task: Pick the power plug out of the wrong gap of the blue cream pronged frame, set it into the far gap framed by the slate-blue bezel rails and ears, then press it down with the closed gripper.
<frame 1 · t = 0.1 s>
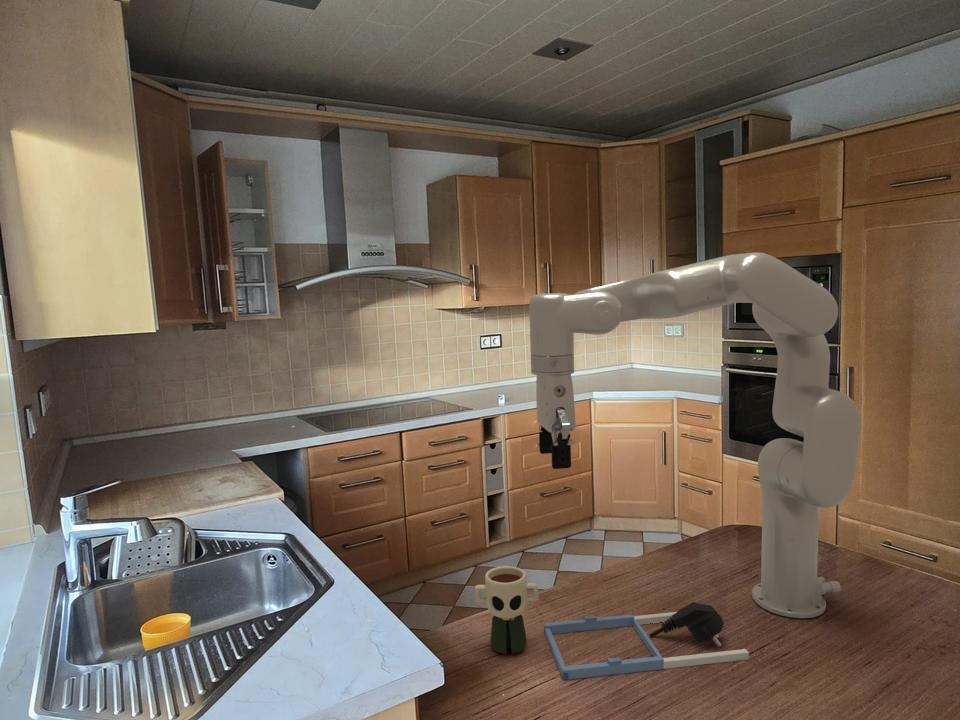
hand: (554, 460, 109), 31 cm above the table, tool pointing down, fingers open, 9 cm apart
character mug: (508, 647, 107), on the table
blue cream pronged frame: (641, 644, 106), on the table
power plug: (685, 641, 107), on the table
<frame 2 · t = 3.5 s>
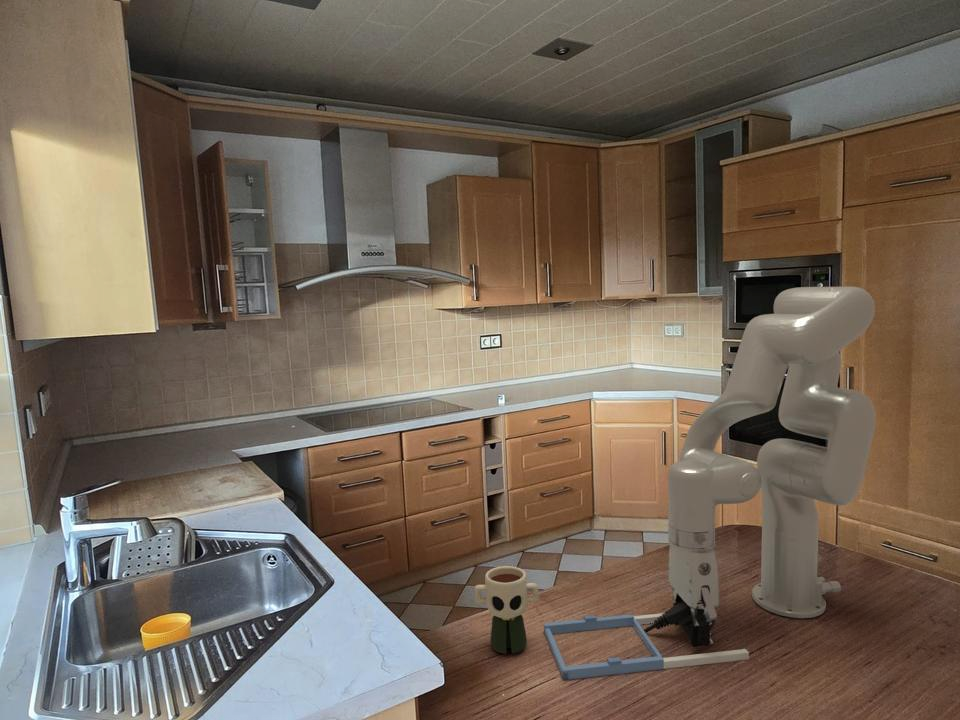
hand: (691, 633, 107), 1 cm above the table, tool pointing down, fingers closed on power plug, 5 cm apart
power plug: (678, 638, 108), on the table, touching blue cream pronged frame, gripper
everything else where it was.
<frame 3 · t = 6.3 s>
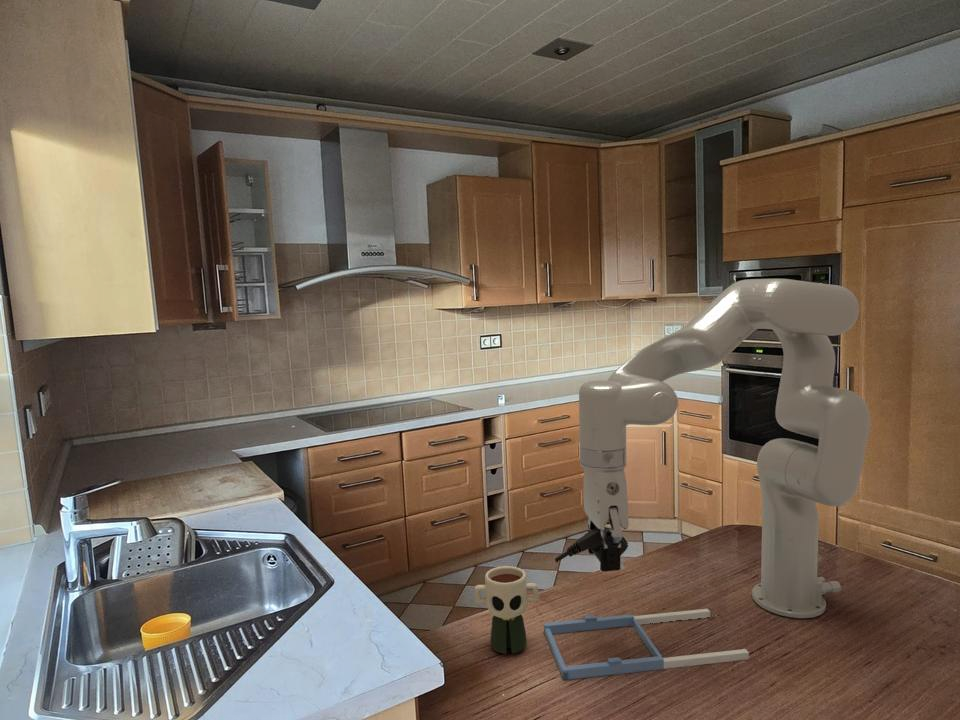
hand: (603, 560, 103), 16 cm above the table, tool pointing down, fingers closed on power plug, 5 cm apart
power plug: (591, 565, 104), point 15 cm above the table, touching gripper
everything else where it was.
when the fingers open (2 cm above the table, at t = 9.4 s): power plug stays where it is, on the table.
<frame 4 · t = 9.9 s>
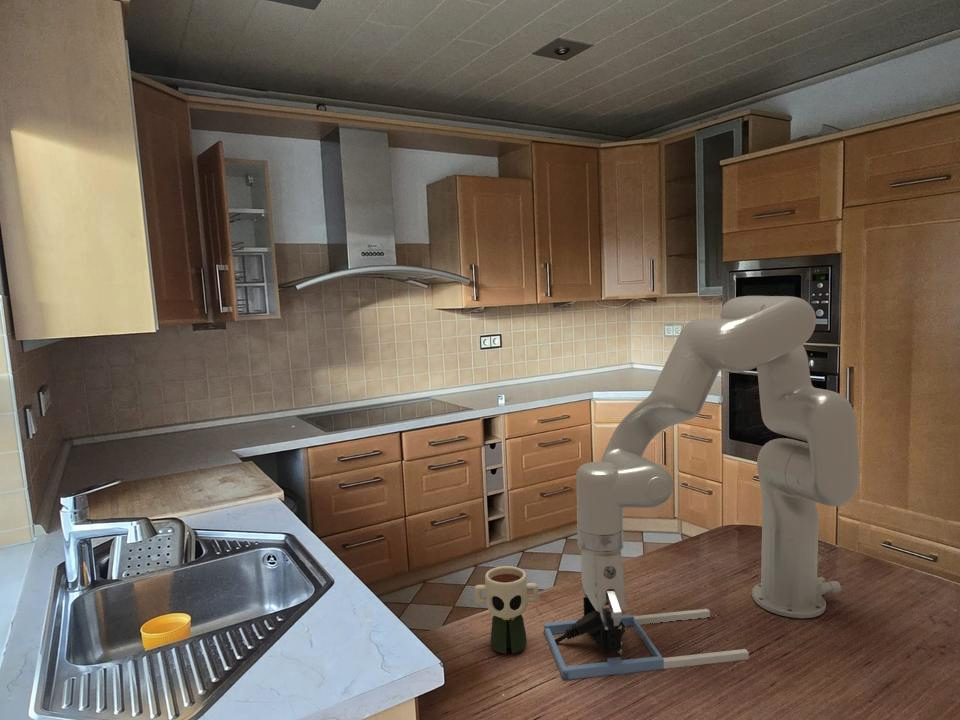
hand: (601, 633, 105), 3 cm above the table, tool pointing down, fingers open, 9 cm apart
power plug: (589, 648, 106), on the table
everything else where it was.
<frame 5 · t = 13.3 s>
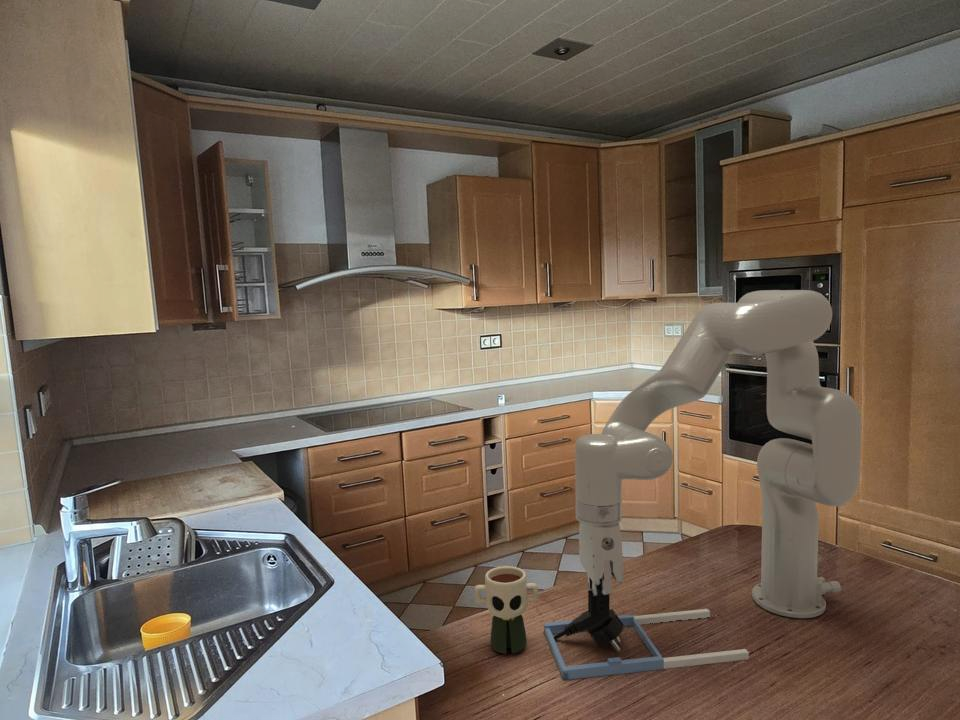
hand: (598, 614, 104), 6 cm above the table, tool pointing down, fingers closed
power plug: (587, 645, 107), on the table, touching blue cream pronged frame, gripper
everything else where it was.
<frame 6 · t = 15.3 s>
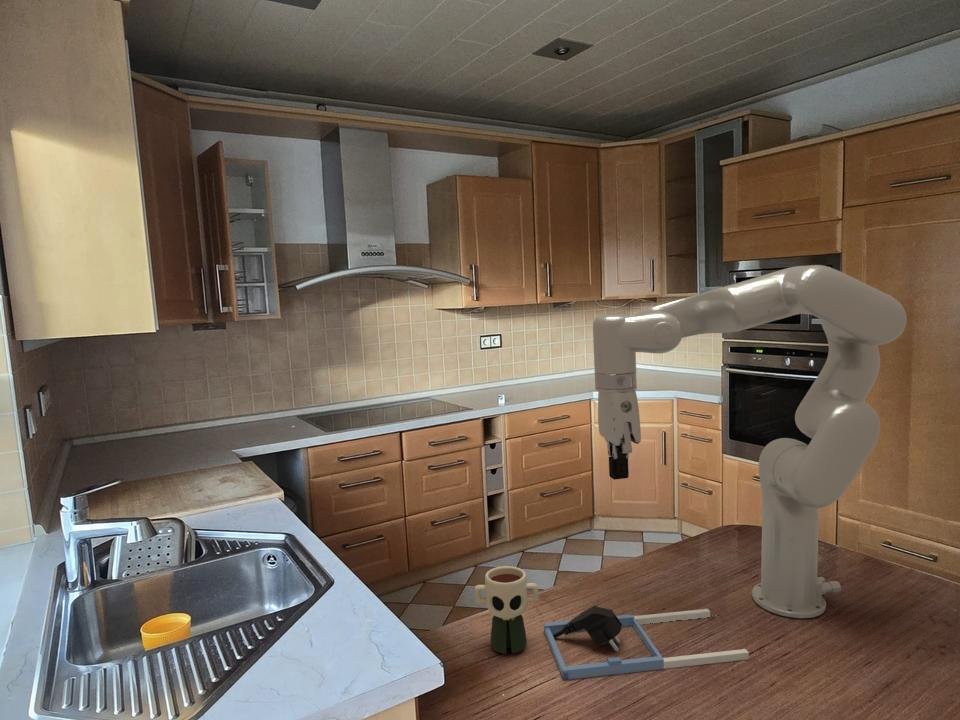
hand: (619, 477, 116), 26 cm above the table, tool pointing down, fingers closed
power plug: (586, 644, 107), on the table, touching blue cream pronged frame
everything else where it was.
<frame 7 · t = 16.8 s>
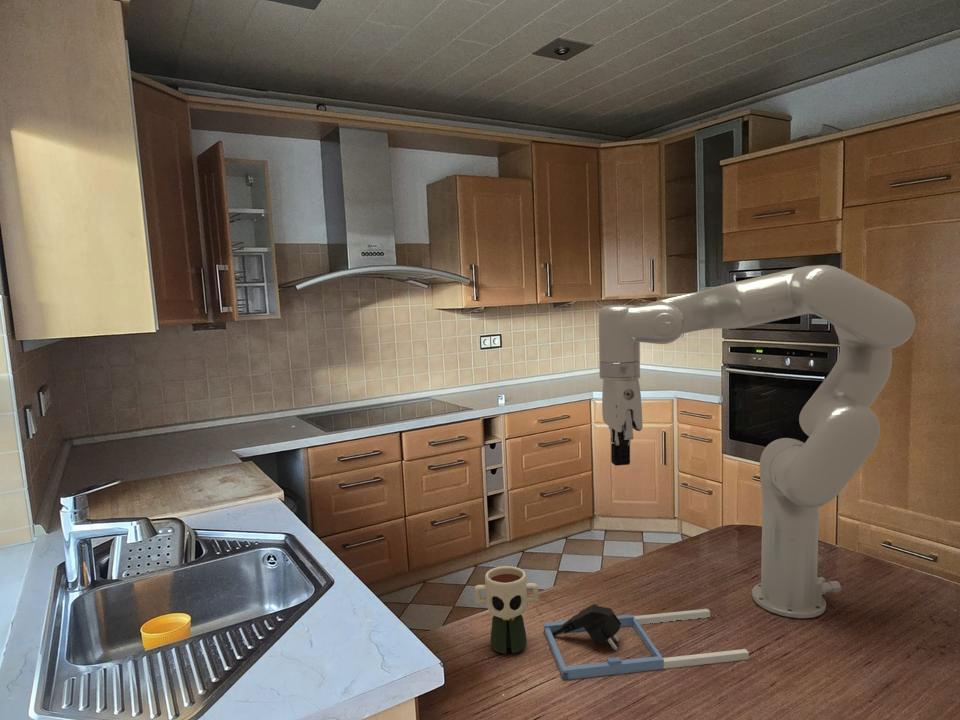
hand: (620, 463, 119), 27 cm above the table, tool pointing down, fingers closed
power plug: (585, 642, 108), on the table
everything else where it was.
at the end: power plug inside the target area (3.5 cm from its centre), on the table; power plug tilted 0°; the gripper is holding nothing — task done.
